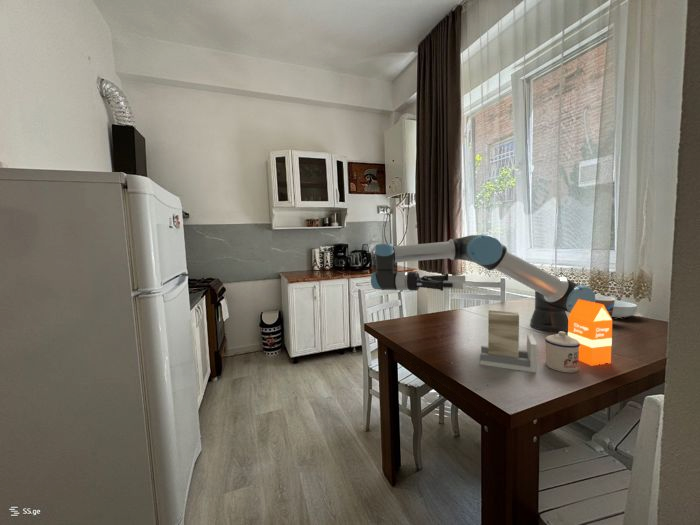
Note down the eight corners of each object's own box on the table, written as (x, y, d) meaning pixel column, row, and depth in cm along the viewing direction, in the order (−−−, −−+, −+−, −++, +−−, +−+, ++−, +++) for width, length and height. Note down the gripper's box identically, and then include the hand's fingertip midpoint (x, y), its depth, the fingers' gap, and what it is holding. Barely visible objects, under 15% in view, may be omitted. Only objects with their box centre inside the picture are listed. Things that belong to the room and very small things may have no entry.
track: (480, 364, 98) (480, 338, 98) (481, 352, 108) (481, 328, 107) (536, 372, 91) (536, 344, 91) (531, 359, 101) (532, 333, 100)
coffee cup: (607, 327, 131) (608, 301, 130) (581, 321, 141) (582, 297, 140) (619, 323, 136) (620, 298, 135) (593, 318, 145) (594, 294, 144)
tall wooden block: (488, 354, 104) (488, 310, 103) (517, 357, 100) (517, 312, 99) (488, 359, 100) (488, 313, 99) (518, 363, 96) (519, 315, 95)
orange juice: (591, 365, 95) (593, 305, 93) (566, 355, 103) (568, 299, 102) (611, 363, 96) (613, 303, 94) (585, 353, 105) (587, 298, 103)
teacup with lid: (568, 376, 88) (569, 338, 87) (538, 364, 97) (539, 330, 96) (590, 367, 94) (591, 332, 93) (559, 357, 102) (560, 324, 101)
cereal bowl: (646, 320, 138) (647, 306, 138) (610, 321, 139) (611, 307, 138) (615, 311, 155) (616, 298, 155) (583, 312, 156) (583, 299, 155)
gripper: (415, 285, 130) (466, 286, 121) (400, 296, 108) (461, 298, 99) (414, 268, 130) (466, 268, 120) (399, 276, 107) (461, 276, 98)
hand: (464, 281), depth 109 cm, fingers open, 13 cm apart
